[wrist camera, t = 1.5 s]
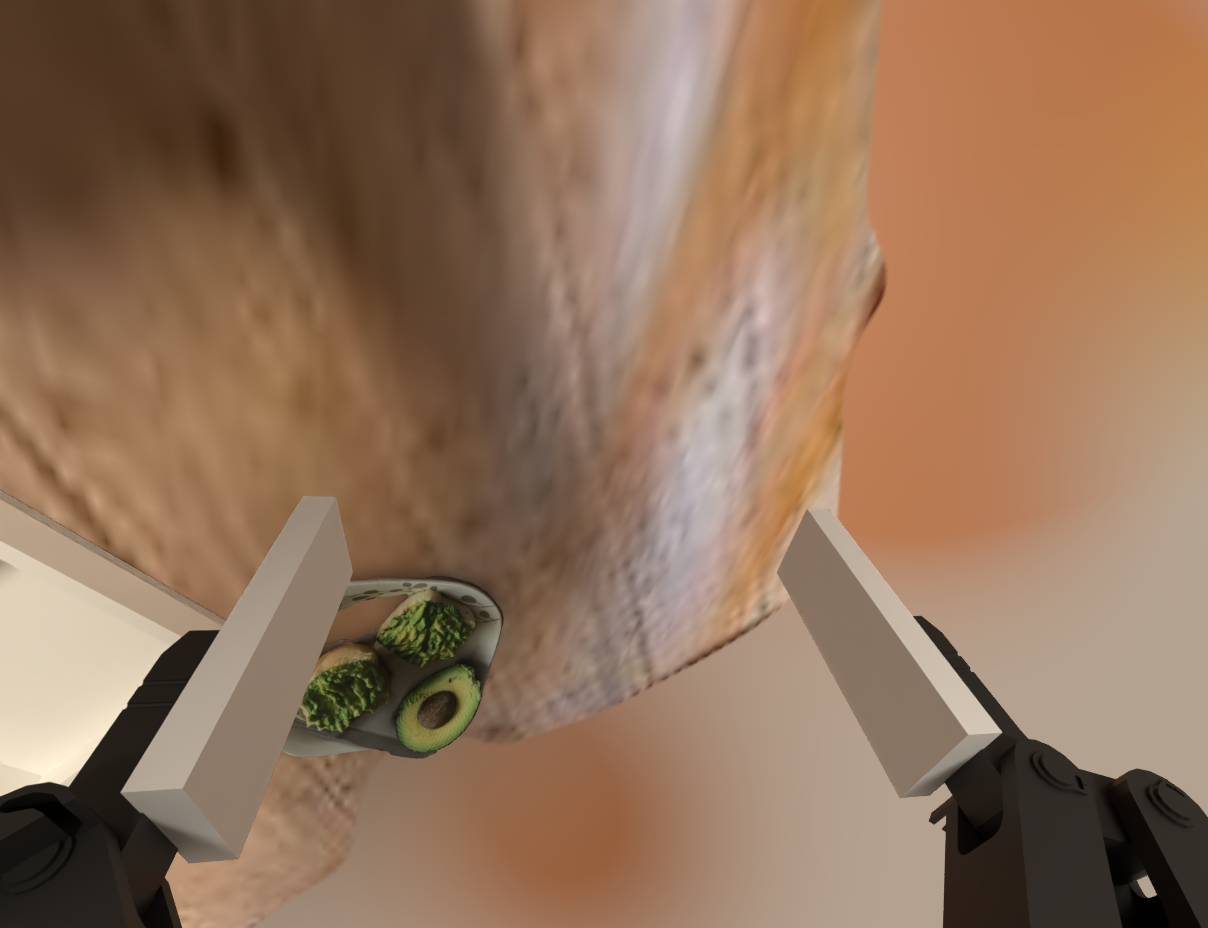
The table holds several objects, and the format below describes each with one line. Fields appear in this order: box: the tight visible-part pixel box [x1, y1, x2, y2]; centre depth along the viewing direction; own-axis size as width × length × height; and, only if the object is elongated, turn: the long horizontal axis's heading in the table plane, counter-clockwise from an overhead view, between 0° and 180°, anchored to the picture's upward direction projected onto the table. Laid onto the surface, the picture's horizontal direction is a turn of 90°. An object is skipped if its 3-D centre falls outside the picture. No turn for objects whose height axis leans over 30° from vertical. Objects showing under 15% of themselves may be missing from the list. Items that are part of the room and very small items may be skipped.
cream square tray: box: [0, 490, 226, 796], centre depth 27 cm, size 15×15×3 cm
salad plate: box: [282, 576, 503, 758], centre depth 36 cm, size 19×18×5 cm
